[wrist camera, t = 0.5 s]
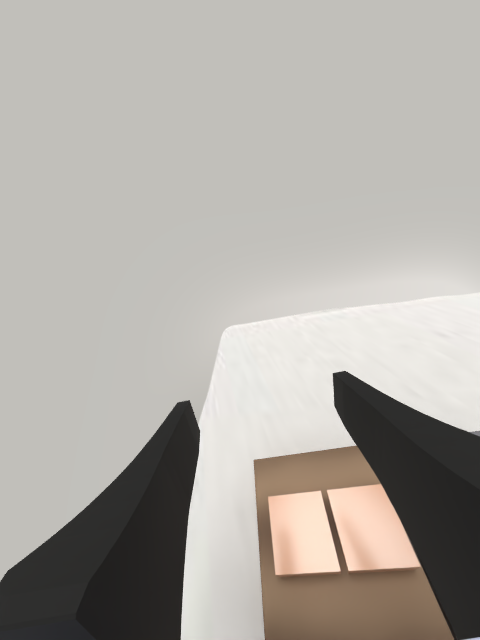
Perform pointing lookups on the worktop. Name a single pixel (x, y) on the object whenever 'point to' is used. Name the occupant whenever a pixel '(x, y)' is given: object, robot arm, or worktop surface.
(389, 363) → the worktop surface
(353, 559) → the tile
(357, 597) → the board
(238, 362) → the worktop surface
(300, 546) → the tile
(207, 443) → the worktop surface
